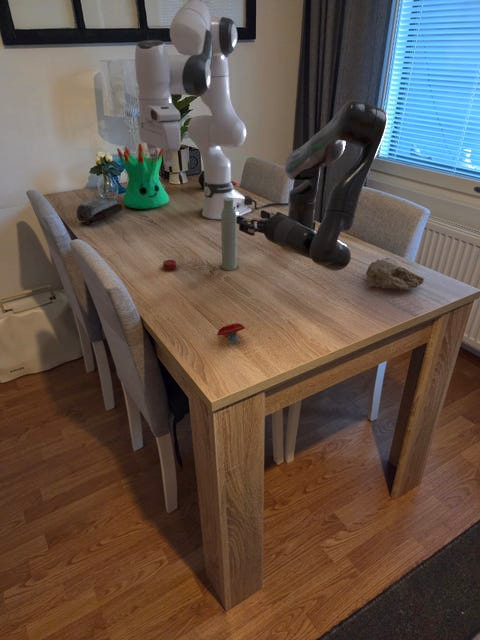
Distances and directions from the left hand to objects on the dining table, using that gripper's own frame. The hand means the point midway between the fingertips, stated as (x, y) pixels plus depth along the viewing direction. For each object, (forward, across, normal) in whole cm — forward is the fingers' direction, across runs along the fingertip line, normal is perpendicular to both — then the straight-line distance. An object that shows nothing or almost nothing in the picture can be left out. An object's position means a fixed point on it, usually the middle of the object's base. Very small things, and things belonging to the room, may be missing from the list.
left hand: (160, 162), depth 128 cm
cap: (+32, 0, 0) cm, 32 cm away
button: (+33, +47, -6) cm, 58 cm away
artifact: (+33, +46, +52) cm, 77 cm away
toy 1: (+33, -68, +21) cm, 79 cm away
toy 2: (+33, -74, +60) cm, 101 cm away
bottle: (+33, +10, +17) cm, 39 cm away
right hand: (+13, +21, +17) cm, 30 cm away
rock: (+33, -58, -4) cm, 67 cm away
